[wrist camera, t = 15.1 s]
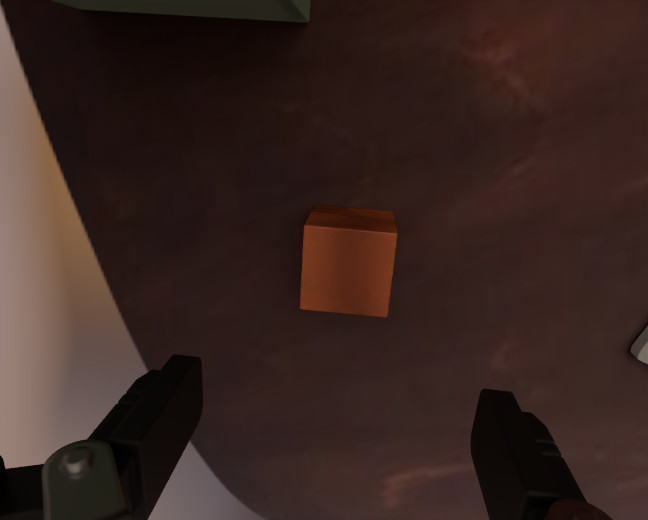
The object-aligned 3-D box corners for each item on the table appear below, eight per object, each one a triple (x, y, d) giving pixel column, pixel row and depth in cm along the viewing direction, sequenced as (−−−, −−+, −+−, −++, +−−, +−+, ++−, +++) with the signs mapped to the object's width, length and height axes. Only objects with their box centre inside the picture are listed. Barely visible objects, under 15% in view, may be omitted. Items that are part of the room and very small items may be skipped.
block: (309, 277, 27) (299, 309, 23) (314, 204, 26) (303, 225, 22) (384, 283, 27) (387, 318, 23) (393, 211, 26) (398, 233, 21)
